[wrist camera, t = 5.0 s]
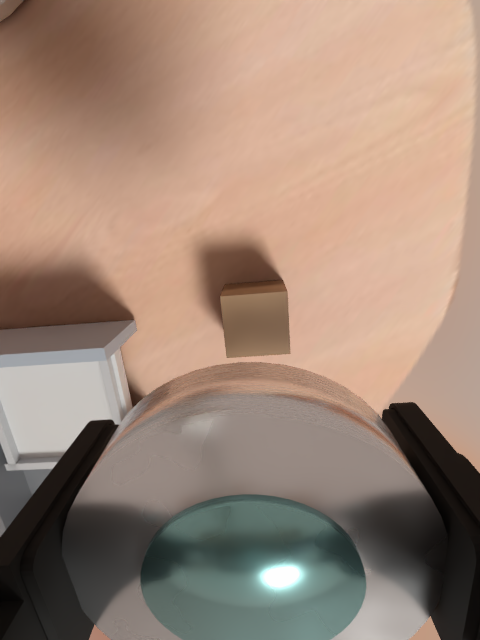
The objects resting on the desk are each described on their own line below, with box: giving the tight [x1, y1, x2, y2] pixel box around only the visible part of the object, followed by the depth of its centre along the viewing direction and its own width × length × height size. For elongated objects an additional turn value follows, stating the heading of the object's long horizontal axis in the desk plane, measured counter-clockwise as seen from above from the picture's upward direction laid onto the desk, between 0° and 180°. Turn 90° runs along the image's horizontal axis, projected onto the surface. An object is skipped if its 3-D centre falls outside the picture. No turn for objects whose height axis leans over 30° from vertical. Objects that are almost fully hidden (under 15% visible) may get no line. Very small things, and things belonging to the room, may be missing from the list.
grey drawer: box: [0, 320, 137, 471], centre depth 23 cm, size 11×13×5 cm
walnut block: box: [220, 280, 290, 358], centre depth 22 cm, size 4×4×4 cm
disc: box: [62, 362, 449, 640], centre depth 7 cm, size 7×7×2 cm
